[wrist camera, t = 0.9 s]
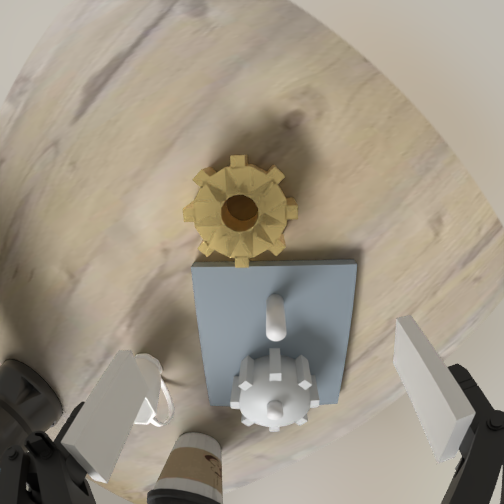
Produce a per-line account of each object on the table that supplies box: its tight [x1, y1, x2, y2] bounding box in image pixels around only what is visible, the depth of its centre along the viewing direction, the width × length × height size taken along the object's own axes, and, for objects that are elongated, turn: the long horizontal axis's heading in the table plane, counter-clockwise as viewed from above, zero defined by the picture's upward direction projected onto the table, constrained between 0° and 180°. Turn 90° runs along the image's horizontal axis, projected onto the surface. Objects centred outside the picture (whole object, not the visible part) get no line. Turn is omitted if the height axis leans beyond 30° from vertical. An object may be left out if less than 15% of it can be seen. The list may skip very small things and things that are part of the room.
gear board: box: [191, 259, 357, 432], centre depth 32 cm, size 17×20×8 cm
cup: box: [133, 353, 175, 427], centre depth 35 cm, size 7×10×8 cm
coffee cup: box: [147, 432, 223, 504], centre depth 36 cm, size 11×11×15 cm
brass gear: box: [183, 155, 298, 268], centre depth 29 cm, size 10×10×4 cm
